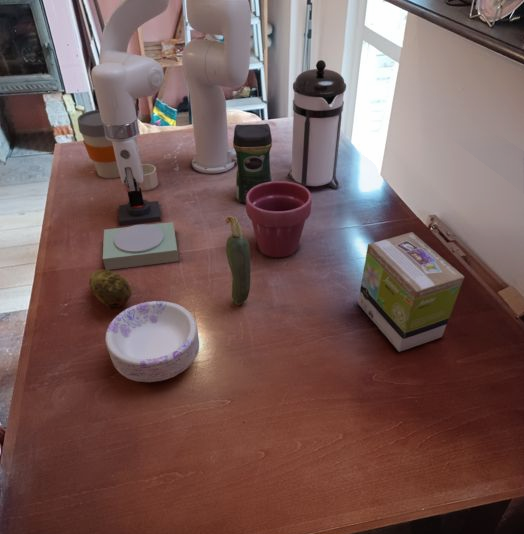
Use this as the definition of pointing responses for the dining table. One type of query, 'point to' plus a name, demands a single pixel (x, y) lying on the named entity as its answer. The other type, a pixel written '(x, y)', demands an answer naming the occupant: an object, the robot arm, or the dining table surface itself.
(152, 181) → the bowl
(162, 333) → the paper bowls
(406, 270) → the tea box
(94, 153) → the reusable coffee cup
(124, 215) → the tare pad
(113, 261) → the scale
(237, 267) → the vegetable
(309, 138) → the coffee press
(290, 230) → the flower pot
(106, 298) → the potato
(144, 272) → the dining table surface
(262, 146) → the coffee jar
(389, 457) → the dining table surface
